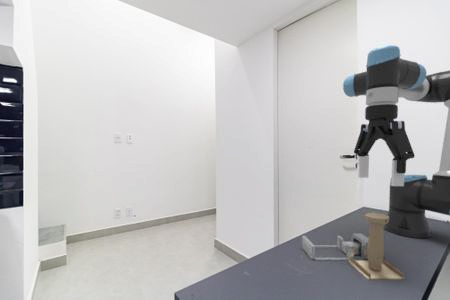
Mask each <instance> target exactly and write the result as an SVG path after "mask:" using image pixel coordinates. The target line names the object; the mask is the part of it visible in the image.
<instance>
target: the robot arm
mask: <svg viewBox="0 0 450 300" xmlns="http://www.w3.org/2000/svg"><path fill="white" fill-rule="evenodd" d="M401 55H402V54H401V49H400V47H399V46H397V45H382V46H379V47H376V48H373V49H372V50H370V51H369V52H368V54H367V58H366V59H367V60H366V65H365V66H366V71H362V72H360V73H354V74H352V75H349V76H347V77H346V78H344V81H343V83H342V85H343V86H342V89H343V93H344V95H346V96H347V97H349V98H353V97H359V96H365V105H366V107H365V112H364V117H365V118H364V119H365V120H366V121H368V124H367V123H362V124H361V125H360V132H359V135H358V137H357V141H356V143H355V147H354V149H353V153H354V154H355V155H357V157H358V164H357V165H358V178H363V179H365V178H367V179H368V178H369V168H370V167H369V166H370V155H369V153H370V152H371V150H372V148H373V146H374V144H376V141H378V140H383V141H384V142H385V144H386V145H387V147H388V149H389V151H390V153H391V154H392V156H393V158H392V161H391V177H390V180H389V181H390V182H389V198H388V199H389V202H388V210H387V213H386V215H388V216H389V222H388V223H387V224H384V230H386V231H388V232H390V233H392V234H395V235H399V236H402V237H407V238H414V239H426V238H430V236H431V229H430V227H429V223H428V221H427V218H426V217H427V216H426V211H427V212H433V213H437V214H441V215H446V216H450V70H445V71H440V72H435V73H432V74H428V75H427V69H426V67H425V66H424V65H423V64H421V63H418V62H416V61H411V60H408V59H403V58H400V57H401ZM399 98H402V99H404V100H407V101H410V102H421V103H435V104H436V103H443V105H444V106H445V107H446V108H448V111H447V116H446V123H445V129H444V135H443V136H444V137H443V143H442V149H441V155H440V160H439V161H440V162H439V166H438V167H439V168H438V171H437V172H435V173H433V174H432V175H431V176H432V177H431V179H428V176H427V175H426V174H406V172H407V169H406V168H407V161H408V160H410V159H414V158H415V153H414V150H413V147H412V145H411V142H410V139H409V137H408V134H407V131H406V127H405V125H406V124H405V121H404V120H396V119H398V114H399V113H398V111H399V109H398V108H399V106H398V105H397V104H398V103H399Z"/></svg>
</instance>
